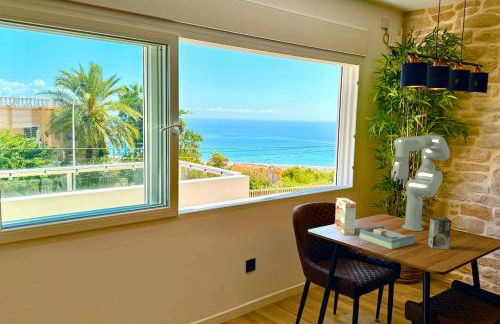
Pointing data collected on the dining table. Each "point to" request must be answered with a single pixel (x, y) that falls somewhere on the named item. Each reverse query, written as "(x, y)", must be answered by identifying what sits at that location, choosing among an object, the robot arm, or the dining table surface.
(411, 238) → the box
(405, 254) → the dining table surface
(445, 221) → the coffee box
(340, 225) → the coffeecake box
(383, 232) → the maple block
